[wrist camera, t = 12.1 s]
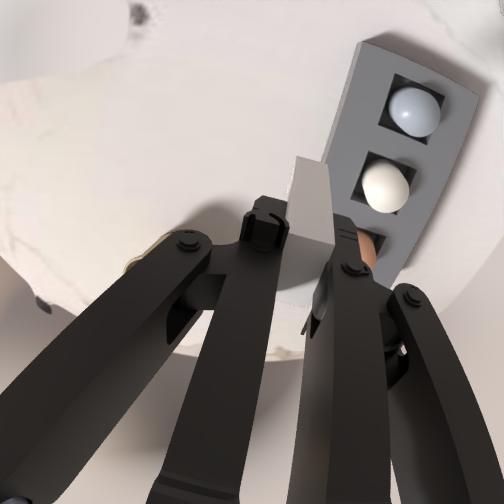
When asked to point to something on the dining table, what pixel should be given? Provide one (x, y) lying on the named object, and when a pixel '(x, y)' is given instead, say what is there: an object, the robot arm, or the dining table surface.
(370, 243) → the terracotta key
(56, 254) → the dining table surface
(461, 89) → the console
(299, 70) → the dining table surface
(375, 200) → the ivory key
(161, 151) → the dining table surface
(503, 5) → the wineglass
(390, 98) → the slate key
